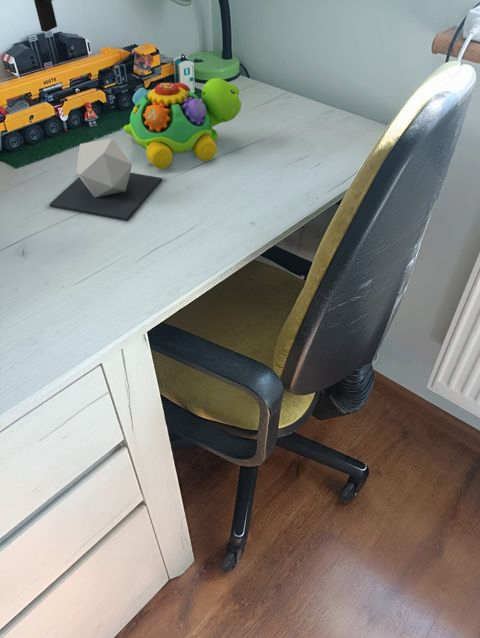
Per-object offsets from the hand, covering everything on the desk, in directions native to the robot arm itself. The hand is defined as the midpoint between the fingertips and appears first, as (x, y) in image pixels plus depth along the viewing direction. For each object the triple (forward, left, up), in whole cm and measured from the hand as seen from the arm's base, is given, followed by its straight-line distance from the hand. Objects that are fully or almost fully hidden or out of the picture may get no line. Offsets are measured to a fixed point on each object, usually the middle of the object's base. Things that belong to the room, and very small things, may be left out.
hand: (6, 24), depth 72 cm
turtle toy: (+16, +22, -25) cm, 37 cm away
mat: (+10, +1, -25) cm, 27 cm away
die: (+10, +1, -24) cm, 26 cm away
